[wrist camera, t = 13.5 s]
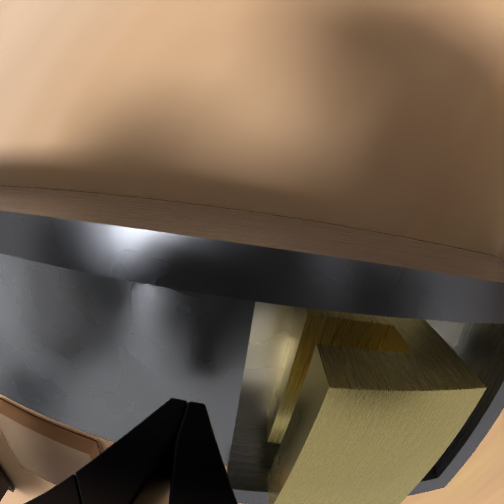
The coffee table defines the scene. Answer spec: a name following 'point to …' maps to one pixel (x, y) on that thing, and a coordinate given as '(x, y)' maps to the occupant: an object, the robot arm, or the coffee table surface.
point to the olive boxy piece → (363, 408)
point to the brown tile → (44, 445)
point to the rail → (214, 313)
